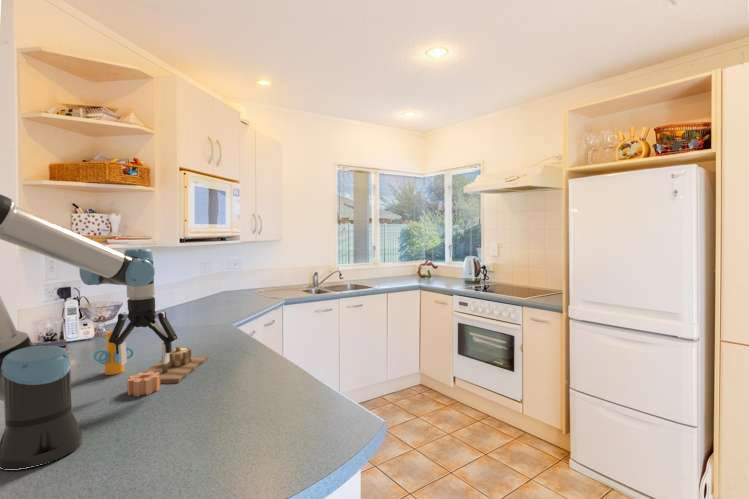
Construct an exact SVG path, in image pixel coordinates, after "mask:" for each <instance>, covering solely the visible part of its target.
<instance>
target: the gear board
mask: <svg viewBox="0 0 749 499" xmlns="http://www.w3.org/2000/svg"><path fill="white" fill-rule="evenodd" d="M169 358H170V361H169V362H168V363H167V364H163V354H162V355H161V360H159V361H157V362H155V364H153V365H151V366H150V367H148V368H147V369H145V370H144V371H142V372H141V373H148V372H154V373H157V372H159V373H160V384H176V383H177V384H179V383H181V381H182V380H184V379H185V378H186V377H187V376H189V375H190V374H192V373H193V372H194V371H195V370H196V369H198V368H199V367H200V366H202V364H204V363H205V362H206V361H208V356H192V348H190V347H181V346H178V345H177V346H175V348H174V349H173V348H172V351H171V352H170V353H169Z"/></svg>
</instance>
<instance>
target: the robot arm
mask: <svg viewBox="0 0 749 499" xmlns="http://www.w3.org/2000/svg"><path fill="white" fill-rule="evenodd" d="M0 240H2V241H4V242H7V243H10V244H13V245H15V246H18V247H21V248H23V249H27V250H30V251H32V252H35V253H37V254H40V255H43V256H44V257H45V256H46V257H48V258H51V259H54V260H57V261H60V262H62V263H65V264H68V265H70V266H74V267H76V268H79V269H78V270H79V277H80V279H81V282H82V283H83V284H84V285H86V286H99V285H116V286H117V285H118V286H119V285H120V286H126V298H128V299H127V311H128V313H127V312H125V311H124V312H121V313H119V314H117V322H116V323H115V326H114V327H113V329H112V330H113V332H112V334H111V337H110V339H109V343H114V344H115V345H116V353H117V354H119V365H123V364H124V365H125V364H127V363H128V359H127V357H128V356H127V354H128V353H127V354H126V346H127V343H126V342H125V340H126V338H127V337H128V336H129V335H130V333H131V332H133V330H134V329H135V328H147V327H148V328H149V329H150V330H152V331H153V332H154V333H155V334H156V335H157V336H158V338H159V339H160V340H162V342H163V343H162V344H161V350H162V351H161V353H162V355H163V364H167V363H168V362H169V361H170V358H169V353H170V352H171V351H172V349H173V347H172V346H173V345H172V343H173V342H174V341H176V340H177V339H178V335H177V334H176V332H175V330H174V328H173V327H172V325H171V323H170V321H169V320H168V317H167V312H166V311H164V310H163V311H161V312H156V298H155V297H154V296H155V282H154V280H155V278H154V277H155V274H156V270H155V266H154V258H153V251H152V249H150V248H144V247H141V248H127V249H125V250H124V252H121V251H119V250H116V249H114V248H112V247H110V246H107V245H106V244H103V243H101V242H98V241H96V240H93V239H91V238H89V237H87V236H84V235H82V234H80V233H77V232H75V231H73V230H70V229H68V228H66V227H64V226H62V225H59V224H57V223H54V222H53V221H50V220H47V219H46V218H45V217H44V218H43V217H42V216H39V215H36V214H35V213H32V212H29V211H27V210H26V209H23V208H20V207H18V206H16V204H15V203H14V200H13V199H11V198H9V197H7V196H5V195H3V194H1V193H0ZM156 319H157V320H158V321H159V323H160V325H159V323H158V321H157V320H156ZM127 320H129V323H128V324H127V325H126V327H125V328H124V325H125V324H126V321H127ZM123 329H124V330H123ZM122 330H123V331H122ZM119 335H120V336H119ZM71 368H72V365H71V360H70V355H69V352H68V351H67V350H66V349H65V348H63V347H61V346H56V345H43V344H42V345H33V342H32V341H31V338H30V336H29V335H28V333H27V332H24V331H19V330H18V329H17V328H16V326H15V324H14V322H13V320H12V318H11V315H10V313H9V311H8V308H7V307H6V305H5V303H4V301H3V299H2V297H1V295H0V401H2V402H3V405H4V406H3V408H4V424H5V425H4V426H5V427H4V430H3V433H2V436H1V438H0V439H1V440H0V467H1V468H3V469H19V468H26V467H31V466H36V465H40V464H45V463H48V462H51V461H54V460H56V459H58V458H61V457H63V456H65V455H67V454H69V453H70V454H72V453H73V452H75V451H76V450H77V449H78V448H79V447H80V446H81V445H82V443H83V431H82V429H81V427H80V426H79V424H78V422H77V419H76V418H75V415H74V413H73V409H72V386H71V385H72V382H71V381H72V380H71V379H72V378H71V377H72V376H71ZM75 449H76V450H75ZM74 450H75V451H74ZM72 451H73V452H72ZM71 452H72V453H71ZM70 454H69V455H70ZM67 456H68V455H67ZM65 457H66V456H65ZM63 458H64V457H63ZM61 459H62V458H61ZM56 461H57V460H56ZM54 462H55V461H54ZM51 463H52V462H51ZM48 464H49V463H48ZM45 465H46V464H45Z"/></svg>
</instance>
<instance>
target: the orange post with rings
mask: <svg viewBox="0 0 749 499" xmlns="http://www.w3.org/2000/svg"><path fill="white" fill-rule="evenodd" d="M113 330H114V329H112V330H107V331H105V334H106V350H104V349H100V350H96V351H95V352H94V354H93V359H94V361H96V362H98V364H100V365H104V366H103V369H104V375H106V376H113V375H118V374H121V373H123V372H124V371H125V364H123V365H119V354H117V353H116V345H115V344H114V343H109V339H110V337H111V334H112V332H113ZM120 335H121V334H120ZM120 335H119V336H120ZM129 351H130V354H129V355H128V356H127V360H129V359H131V358H132V357H133V356H134V350H133V349H132V348H131V347H128V346H127V345H126V354H128V353H129ZM98 354H99V356H98V358H97V355H98ZM103 356H104V358H102V357H103Z"/></svg>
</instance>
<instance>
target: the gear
mask: <svg viewBox="0 0 749 499" xmlns="http://www.w3.org/2000/svg"><path fill="white" fill-rule="evenodd" d="M126 386H127V395H128V396H132V395H133V397H140V396H142V395H143V396H144V395H145V394H146V395H145V396H148V395H152V394H153V393H154V392H158V391H159V390H161V389H160V388H161V383H160V373H159V372H157V373H154V372H148V373H142V372H138V373H136V374H135V375H130V376H129V377H127V384H126ZM151 393H152V394H151Z"/></svg>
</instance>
